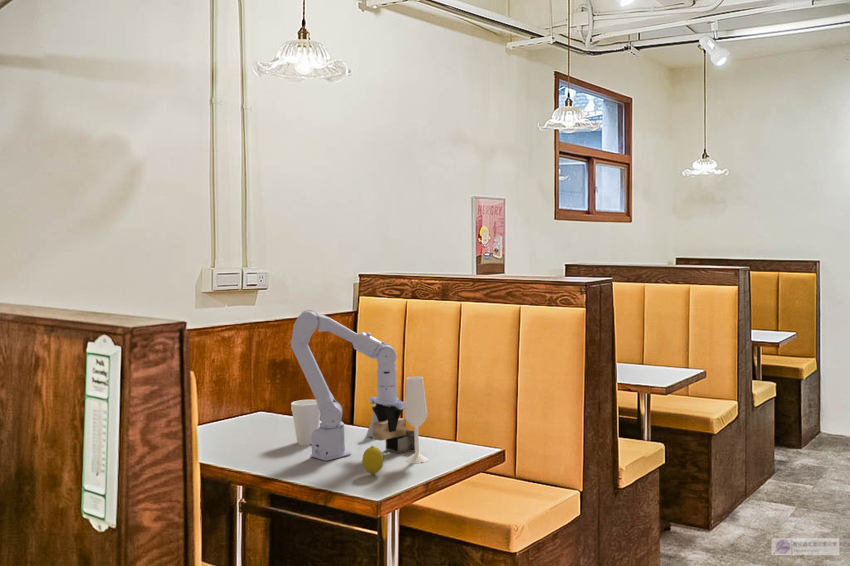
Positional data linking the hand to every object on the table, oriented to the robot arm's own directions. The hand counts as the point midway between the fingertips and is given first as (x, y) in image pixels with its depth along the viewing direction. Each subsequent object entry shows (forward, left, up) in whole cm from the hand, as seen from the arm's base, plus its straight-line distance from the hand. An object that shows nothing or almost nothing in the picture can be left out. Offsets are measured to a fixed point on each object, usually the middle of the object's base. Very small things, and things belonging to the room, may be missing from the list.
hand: (388, 430), depth 234 cm
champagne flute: (0, -12, -7) cm, 14 cm away
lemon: (-18, -14, -7) cm, 24 cm away
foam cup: (-9, +30, -7) cm, 32 cm away
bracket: (+4, 0, -7) cm, 8 cm away
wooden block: (+1, 0, -2) cm, 2 cm away
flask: (+12, +20, -7) cm, 24 cm away
